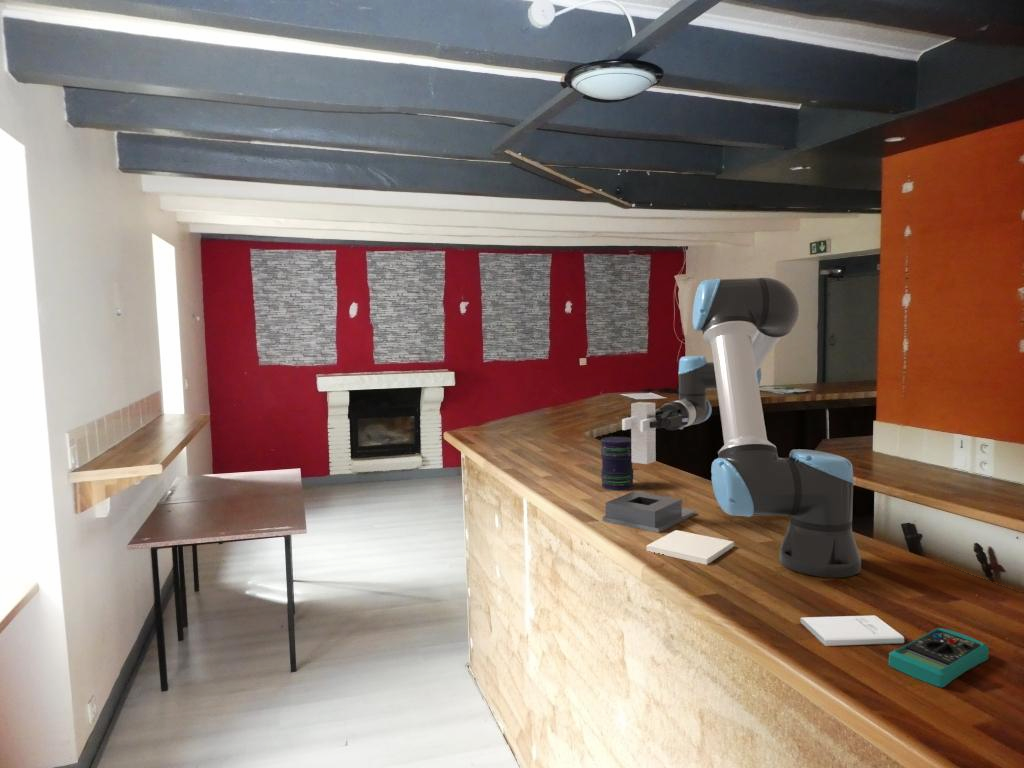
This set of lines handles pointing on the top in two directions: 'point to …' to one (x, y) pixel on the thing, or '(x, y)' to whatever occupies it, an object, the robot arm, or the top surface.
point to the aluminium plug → (642, 434)
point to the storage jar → (616, 463)
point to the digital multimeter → (939, 656)
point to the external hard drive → (851, 630)
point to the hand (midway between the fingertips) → (632, 425)
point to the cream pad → (690, 546)
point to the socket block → (646, 511)
